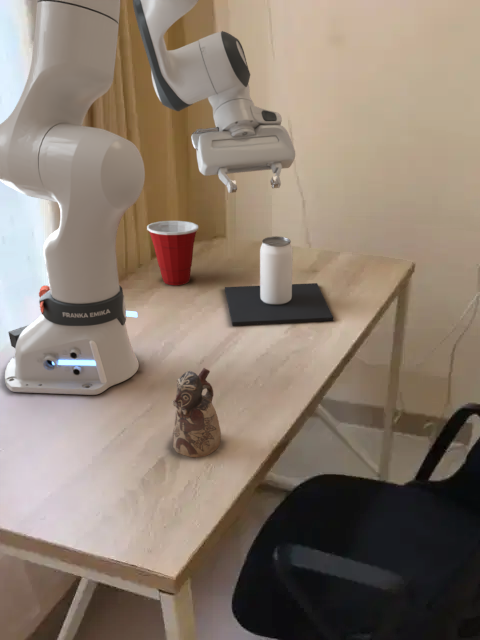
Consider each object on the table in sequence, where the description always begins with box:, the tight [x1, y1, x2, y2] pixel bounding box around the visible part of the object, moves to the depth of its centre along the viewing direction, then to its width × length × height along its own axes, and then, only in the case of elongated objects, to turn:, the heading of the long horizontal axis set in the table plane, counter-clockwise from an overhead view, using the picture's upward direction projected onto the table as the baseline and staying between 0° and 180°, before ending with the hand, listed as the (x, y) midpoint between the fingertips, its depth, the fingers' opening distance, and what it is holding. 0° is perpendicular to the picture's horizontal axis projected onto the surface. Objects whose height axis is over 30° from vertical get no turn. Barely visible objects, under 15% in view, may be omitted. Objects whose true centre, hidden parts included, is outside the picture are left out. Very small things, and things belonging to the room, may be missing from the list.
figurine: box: [171, 367, 222, 458], centre depth 108 cm, size 7×7×12 cm
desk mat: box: [224, 282, 334, 327], centre depth 153 cm, size 20×18×1 cm
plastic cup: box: [146, 220, 199, 286], centre depth 160 cm, size 11×11×12 cm
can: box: [259, 235, 294, 305], centre depth 150 cm, size 6×6×12 cm
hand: (255, 188), depth 151 cm, fingers open, 8 cm apart
